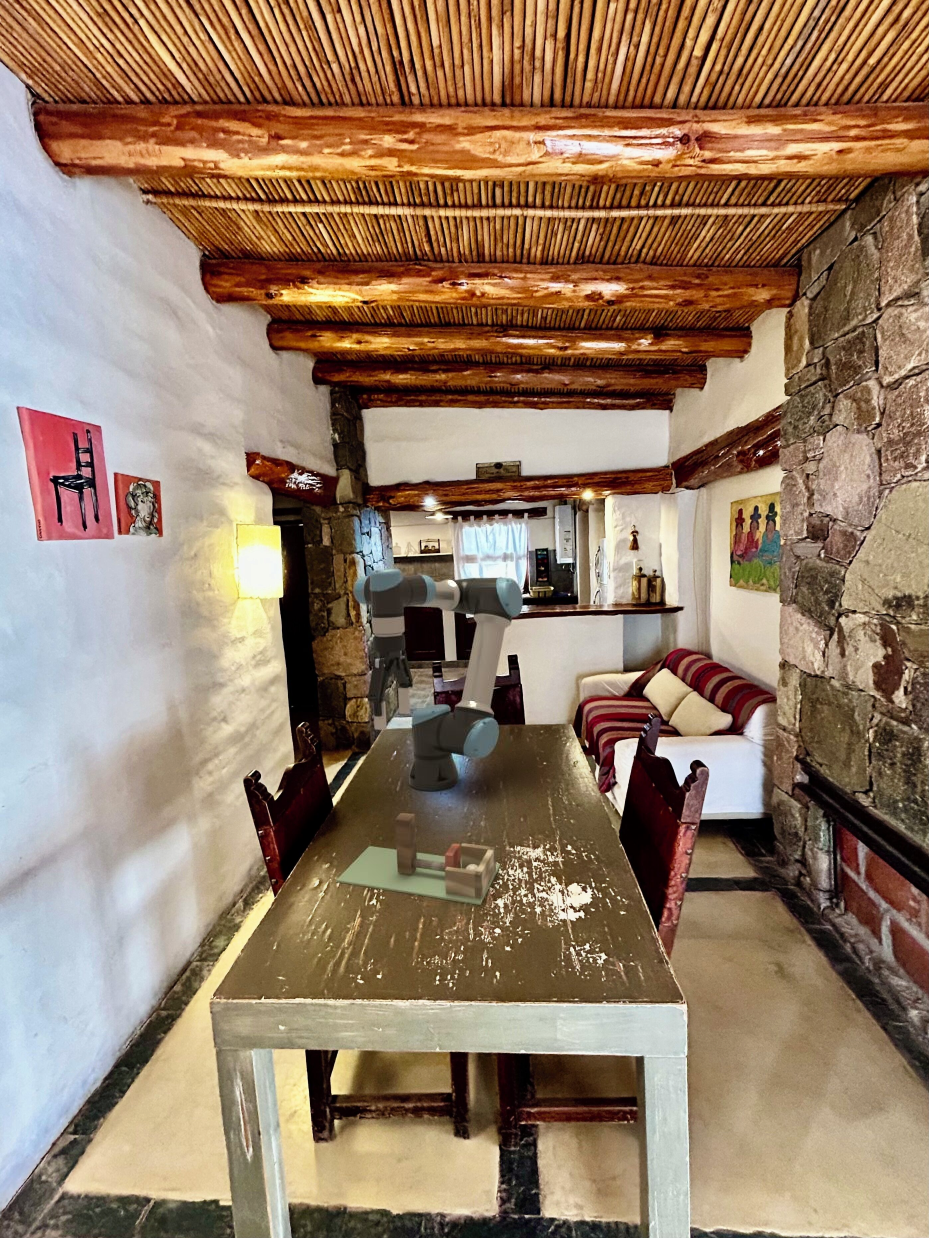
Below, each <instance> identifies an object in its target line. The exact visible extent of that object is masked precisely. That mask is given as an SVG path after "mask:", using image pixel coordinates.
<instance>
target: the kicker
mask: <svg viewBox="0 0 929 1238" xmlns="http://www.w3.org/2000/svg"><path fill="white" fill-rule="evenodd" d="M394 826H395V827H394V828H395V844H396V849H395V850H397V868H398V873H404V874H412V873H413V872H414V871H415V869H416V868H422V869H428V870H435V871H442V872H445V869H446V867H452V868H459V869H461V844H460V843H452V844H451V846H450V847H449V848H448V850H447V851H446V853H445V854H444V856H445V863H444V862H437V861H430V860H423V859H417V853H418V852H417V835H416V833H417V832H416V814H414V813H408V812H407V813H405V812H400V814H398V815H397V817H395V819H394Z"/></svg>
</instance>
